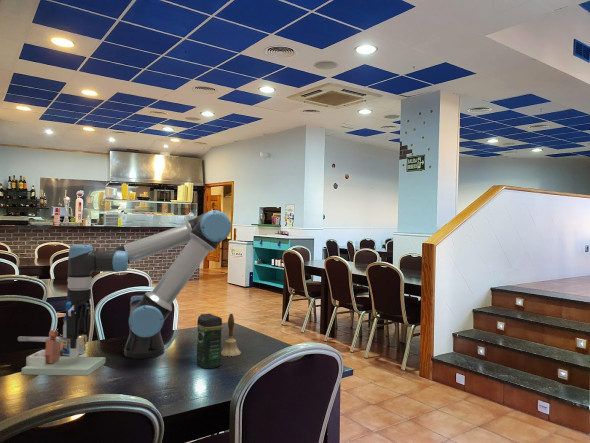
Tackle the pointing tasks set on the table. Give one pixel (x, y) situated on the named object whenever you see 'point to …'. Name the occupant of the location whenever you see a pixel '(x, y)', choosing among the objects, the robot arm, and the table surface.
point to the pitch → (62, 365)
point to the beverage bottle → (65, 344)
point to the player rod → (53, 344)
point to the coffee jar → (209, 341)
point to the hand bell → (230, 341)
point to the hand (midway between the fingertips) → (77, 355)
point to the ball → (41, 354)
